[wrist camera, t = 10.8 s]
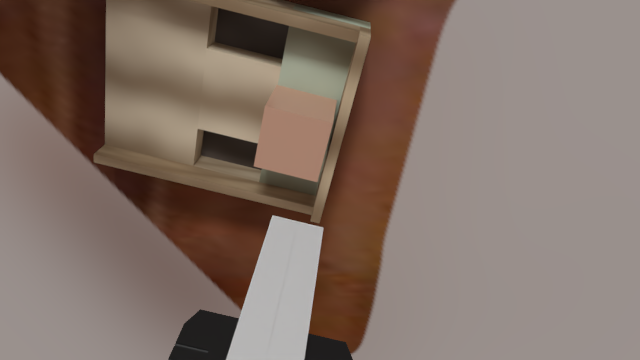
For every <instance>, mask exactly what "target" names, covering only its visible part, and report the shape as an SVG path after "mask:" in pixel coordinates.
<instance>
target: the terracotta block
mask: <svg viewBox="0 0 640 360" xmlns="http://www.w3.org/2000/svg"><path fill="white" fill-rule="evenodd" d="M336 103H337V100H334V99H331V98H327V97H323V96H319V95H315V94H311V93H307V92H303V91H299V90H295V89H292V88H288V87H284V86H280V85H276V87H275V89H274V90H273V92H272V94H271V96H270V98H269V100H268V101H267V103H266V105H265V109H264V114H263V119H262V125H261V130H260V135H259V140H258V146H257V151H256V156H255V162H254V167H258V168H262V169H266V170H270V171H274V172H278V173H282V174H286V175H290V176H294V177H298V178H302V179H306V180H310V181H314V182H317V181H318V178H319V174H320V170H321V167H322V163H323V159H324V155H325V152H326V148H327V144H328V140H329V137H330V133H331V129H332V126H333V121H334V115H335V109H336Z"/></svg>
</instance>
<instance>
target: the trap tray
mask: <svg viewBox="0 0 640 360" xmlns="http://www.w3.org/2000/svg"><path fill="white" fill-rule="evenodd" d="M370 39H371V26H370V22H366V21H362V20H358V19H354V18H351V17H347V16H343V15H339V14H335V13H331V12H327V11H323V10H319V9H315V8H312V7H308V6H304V5H300V4H296V3H292V2H288V1H284V0H106V74H105V145H104V146H103V147H101V148H100V149H99V150H98V151H97V152H96V153H94V163H99V164H103V165H107V166H111V167H115V168H119V169H123V170H128V171H132V172H136V173H140V174H144V175H148V176H152V177H156V178H161V179H165V180H169V181H173V182H177V183H181V184H185V185H189V186H194V187H198V188H202V189H206V190H210V191H214V192H218V193H223V194H227V195H231V196H235V197H239V198H243V199H247V200H251V201H256V202H260V203H264V204H268V205H272V206H276V207H280V208H285V209H289V210H293V211H297V212H301V213H305V214H309V215H311V220H310V221H311V222H315V223H320V219H321V216H322V212H323V208H324V205H325V201H326V198H327V194H328V190H329V187H330V183H331V180H332V176H333V172H334V169H335V165H336V161H337V158H338V154H339V151H340V147H341V143H342V140H343V136H344V133H345V129H346V125H347V122H348V118H349V115H350V111H351V107H352V104H353V100H354V96H355V93H356V89H357V86H358V82H359V78H360V75H361V71H362V68H363V64H364V60H365V57H366V53H367V50H368V46H369V42H370ZM276 85H280V86H284V87H288V88H292V89H295V90H299V91H303V92H307V93H311V94H315V95H319V96H323V97H327V98H331V99H334V100H337V103H336V109H335V115H334V121H333V126H332V129H331V133H330V137H329V140H328V144H327V148H326V152H325V155H324V159H323V163H322V167H321V170H320V174H319V178H318V181H317V182H314V181H310V180H306V179H302V178H298V177H294V176H290V175H286V174H282V173H278V172H274V171H270V170H266V169H262V168H258V167H254V162H255V156H256V151H257V146H258V140H259V135H260V130H261V125H262V119H263V114H264V109H265V105H266V103H267V101H268V100H269V98H270V96H271V94H272V92H273V90H274V89H275V87H276Z"/></svg>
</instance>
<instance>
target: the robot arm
mask: <svg viewBox="0 0 640 360" xmlns="http://www.w3.org/2000/svg"><path fill="white" fill-rule="evenodd" d="M322 234H323V227H319V226H315V225H311V224H307V223H302V222H298V221H294V220H290V219H286V218H282V217H278V216H274V215H272V218H271V221H270V224H269V228H268V231H267V234H266V237H265V240H264V243H263V246H262V249H261V252H260V256H259V259H258V262H257V265H256V268H255V271H254V274H253V277H252V280H251V283H250V287H249V290H248V293H247V296H246V299H245V302H244V305H243V308H242V311H241V315H240V318H234V317H230V316H226V315H222V314H217V313H213V312H209V311H205V310H199V311H198V312H197V313H196V314H195V315H194V316H193V317H191V318H190V319H189V320H188V321H187V322H186V323H185V324H184V326H183V328H182V330H181V332H180V335H179V337H178V339H177V341H176V344H175V346H174V348H173V350H172V352H171V354H170V357H169V360H353V359H352V357H351V354H350V352H349V349H348V347H347V344H346V342H342V341H338V340H333V339H329V338H325V337H321V336H316V335H312V334H308V331H309V324H310V317H311V310H312V303H313V297H314V290H315V283H316V276H317V269H318V262H319V255H320V248H321V241H322Z"/></svg>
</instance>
